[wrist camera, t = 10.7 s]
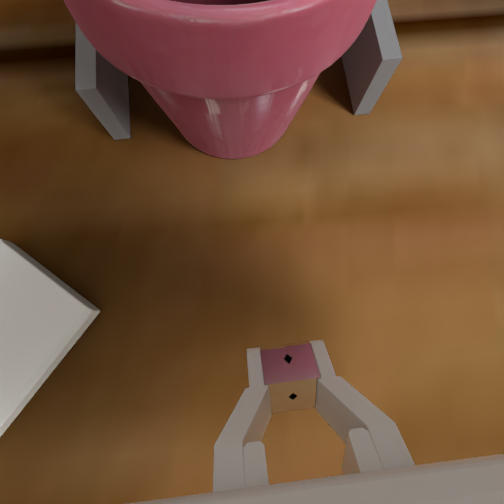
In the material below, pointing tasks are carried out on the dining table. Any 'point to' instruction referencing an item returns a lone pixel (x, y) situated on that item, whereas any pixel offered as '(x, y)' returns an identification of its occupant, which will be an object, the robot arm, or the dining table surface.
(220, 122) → the plant pot
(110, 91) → the frame
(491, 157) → the dining table surface
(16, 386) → the external hard drive
